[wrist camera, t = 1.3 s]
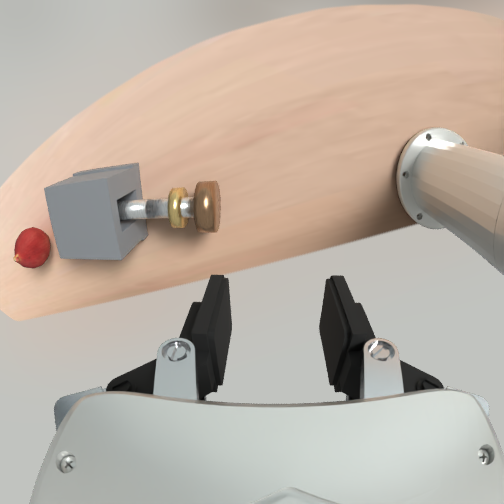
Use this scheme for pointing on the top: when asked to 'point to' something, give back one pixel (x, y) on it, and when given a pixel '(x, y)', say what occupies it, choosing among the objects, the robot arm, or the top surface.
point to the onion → (32, 248)
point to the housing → (95, 213)
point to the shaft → (179, 207)
